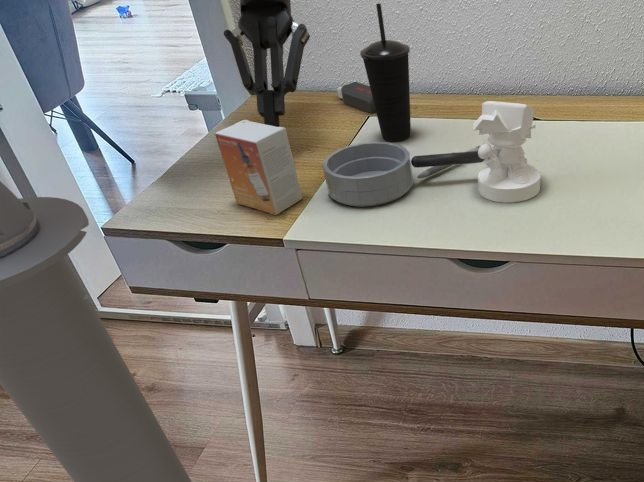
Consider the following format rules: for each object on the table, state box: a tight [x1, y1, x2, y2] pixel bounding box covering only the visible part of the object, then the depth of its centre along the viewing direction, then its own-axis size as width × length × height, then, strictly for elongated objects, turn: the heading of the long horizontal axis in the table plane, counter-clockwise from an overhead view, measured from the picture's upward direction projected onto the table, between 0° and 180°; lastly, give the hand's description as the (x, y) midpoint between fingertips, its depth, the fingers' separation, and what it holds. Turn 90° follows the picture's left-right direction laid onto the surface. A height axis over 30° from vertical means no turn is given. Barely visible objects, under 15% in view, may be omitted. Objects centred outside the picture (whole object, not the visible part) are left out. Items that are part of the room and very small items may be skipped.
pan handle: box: [410, 151, 485, 169], centre depth 89 cm, size 11×2×2 cm, turn 93°
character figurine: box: [472, 100, 541, 204], centre depth 85 cm, size 9×10×12 cm
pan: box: [322, 141, 414, 208], centre depth 89 cm, size 12×12×4 cm
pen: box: [416, 144, 482, 180], centre depth 94 cm, size 1×14×1 cm, turn 135°
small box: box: [214, 119, 303, 216], centre depth 86 cm, size 8×6×10 cm
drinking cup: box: [359, 2, 412, 143], centre depth 99 cm, size 8×8×20 cm
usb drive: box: [336, 81, 376, 114], centre depth 118 cm, size 5×12×3 cm, turn 43°
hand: (272, 135), depth 95 cm, fingers closed
